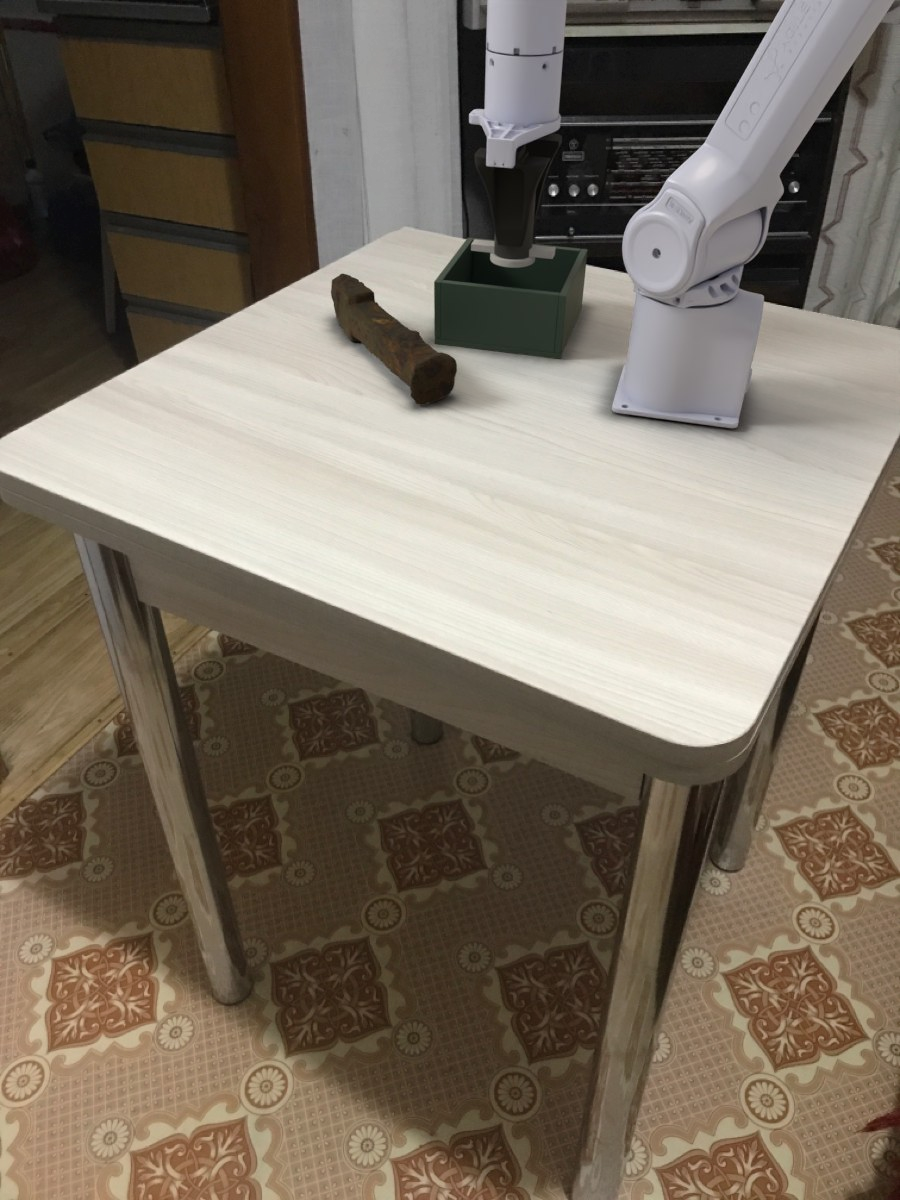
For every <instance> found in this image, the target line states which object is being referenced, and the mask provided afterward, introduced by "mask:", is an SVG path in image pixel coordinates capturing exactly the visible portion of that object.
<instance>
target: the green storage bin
mask: <svg viewBox="0 0 900 1200" xmlns="http://www.w3.org/2000/svg"><path fill="white" fill-rule="evenodd" d="M475 239H477V240H487V241H494V239H486V238H477V237H467V238H466V239H465V241H464V242H463V243H462V244H461V246H460V247H459V249H458V250H457V251H456V252H455V253H454V255H453V257H452V258H450V260H449V262H448V263H447V264H446V266H445V267H444V268H443V269H442V271H440V273H439V274H438V276H437V277H436V279H435V280H434V281H433V300H434V301H433V303H434V305H433V307H434V309H433V312H434V313H433V314H434V315H433V316H434V319H433V320H434V321H433V322H434V344H438V345H446V346H453V347H460V348H468V349H469V348H470V349H477V350H486V351H494V352H501V353H509V354H510V353H511V354H516V355H517V354H519V355H525V356H532V357H533V356H534V357H541V358H542V357H543V358H549V359H550V358H551V359H558V360H561V359H562V357H563V355H564V352H565V349H566V347H567V345H568V342H569V339H570V337H571V335H572V332H573V331H574V328H575V325H576V323H577V320H578V318H579V316H580V313H581V311H582V307H583V301H584V300H583V299H584V290H585V282H586V281H585V280H586V270H587V261H588V260H587V259H588V252H589V251H588V249H587V248H580V247H579V248H578V247H567V246H558V245H548V244H538V243H532V245H537V246H547V247H555V255H554V257H553V259H546V258H537V257H535V261H534V263H533V264H531V265H529V266H526V267H520V268H508V267H502V266H498V265H496V264H494V263H492V262H491V260H490V253H488V252H478V251H471V244H472V242H473V241H474V240H475Z"/></svg>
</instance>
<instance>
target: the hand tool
mask: <svg viewBox="0 0 900 1200" xmlns="http://www.w3.org/2000/svg"><path fill="white" fill-rule="evenodd" d="M330 296H331V300H332V303H333V308H334V313H335V319H336V320H337V323H338V324H339V327H340V329H342V330H343V333H344V335H346V337H347V338H348V340H349V341H352V342H360V343H361V344H362V345H363V346H364V347H365V348H366V349H367V351H368V352H370V354H372V355H374V356H375V357H376V358H377V359H378V360H379V361H381V363H382V364H384V366H385V367H386V368H387V369H388V370H389V371H390V372H391V373H392V374H393V375H395V376H397V377H398V378H399V380H401V381H402V382H403V383H405V384H406V385H407V386H408V387H409V388H410V389H409V390H410V397H411V399H412V401H414V402H415V403H416V404H417V405H419V406H423V405H427V404H433V403H435V402H438V401H440V400H441V399H444V398H446V397H447V396H449V395H450V394H451V393H452V391H453V390H454V387H455V380H456V379H455V378H456V375H457V372H458V364H457V360H456V359H455V357H453V356H451V355H450V354H448V353H446V352H440V351H437V350H435V349H434V348H433V347H432V346H431V345H430V344H428V343H427V342H425V340H423V339H424V338H422V337H421V334H420V331H418V330H412V329H410V328H408V327H407V326H405V325H404V324H403V323H401V322H400V321H399V320H398V319H397V318H395V317H394V316H393V315H392V314H390V313H389V312H388V311H386V310H385V308H383V307H382V306H381V305H379V303H378V302H377V301H376V299H375V292H374V291H373V290H372V289H371V288H369V287H367V286H366V285H365V283H364V282H363V281H360V279H358V278H356V277H353V276H351V275H350V274H346V273H340V274H339V275H338V276H336V277H334V278H332V279H331V288H330Z"/></svg>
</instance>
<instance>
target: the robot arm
mask: <svg viewBox="0 0 900 1200" xmlns="http://www.w3.org/2000/svg"><path fill="white" fill-rule="evenodd" d="M895 1H896V0H784V1H783V2H782V5H781V6H780V8H779V10H778V12H777V14H776V15H775V17H774V19H773V21H772V22H771V24H770V26H769V27H768V30H767V31H766V33H765V35H764V37H763V38H762V40H761V42H760V43H759V45H758V47H757V49H756V51H755V52H754V54H753V56H752V58H751V59H750V61H749V63H748V65H747V67H746V68H745V70H744V72H743V73H742V75H741V77H740V78H739V81H738V83H736V86H735V88H734V89H733V91H732V93H731V95H730V97H729V99H728V100H727V102H726V104H725V105H724V107H723V109H722V111H721V113H720V114H719V116H718V118H717V119H716V121H715V123H714V125H713V127H712V128H711V130H710V132H709V134H708V135H707V137H706V139H705V141H704V143H703V144H702V145H701V146H700V147H699V148H698V149H697V150H696V151H695V152H694V153H693V154H692V155H690V156H689V157H688V159H686V160H685V161H683V163H682V164H681V165H680V166H679V167H678V168H677V169H675V171H673V173H672V174H670V176H668V178H667V179H665V182H664V184H663V185H662V187H661V188H660V191H658V193H657V195H656V196H655V198H654V199H653V200H652V201H650V202H649V203H647V204H645V205H644V206H642V207H640V209H638V210H637V211H636V212H635V213H634V214H633V215H632V217H631V218H630V219H629V221H628V223H627V225H626V226H625V230H624V232H623V236H622V242H621V243H622V244H621V245H622V246H621V253H622V260H623V265H624V267H625V271H626V273H627V275H628V277H629V278H630V280H631V281H632V283H633V288H632V291H633V292H634V293H635V298H634V305H633V312H632V319H631V320H632V321H631V326H630V332H629V342H628V349H627V356H626V362H625V364H624V365H623V366H622V370H621V374H620V377H619V380H618V384H617V387H616V391H615V395H614V397H613V401H612V405H611V411H612V412H613V413H616V414H622V415H628V416H629V415H631V416H635V417H636V416H637V417H644V418H652V419H659V420H667V421H674V422H682V423H688V424H694V425H695V424H696V425H703V426H711V427H717V428H718V427H720V428H725V429H736V428H738V426H739V423H740V416H741V411H742V408H743V402H744V399H745V395H746V393H748V392H749V389H750V385H751V382H752V376H753V375H752V374H753V368H752V366H753V365H752V364H753V361H754V356H755V352H756V347H757V343H758V339H759V334H760V330H761V329H760V327H761V324H762V318H763V312H764V305H765V296H764V295H763V294H760V293H757V292H752V291H747V290H745V289H742V288H740V283H741V280H742V276H743V271H744V266H745V265H746V264H748V263H749V262H751V261H752V260H753V259H755V257H756V256H757V255H758V254H759V253H760V252H761V250H762V248H763V246H764V244H765V243H766V239H767V237H768V234H769V227H770V220H771V216H772V214H773V212H774V209H775V207H776V205H777V203H778V202H780V201H779V200H780V199H781V198H782V196H783V195H784V192H785V187H784V185H783V182H782V179H781V177H780V176H781V173H782V172H783V170H784V169H785V167H786V166H787V164H788V163H789V161H790V160H791V158H792V157H793V155H794V153H795V152H796V151H797V149H798V148H799V146H800V145H801V143H802V141H803V140H804V138H805V137H806V135H807V134H808V132H809V131H810V130H811V128H812V126H813V124H814V123H815V122H816V121H817V119H818V117H819V116H820V114H821V113H822V111H823V110H824V108H825V107H826V105H827V104H828V103H829V100H830V99H831V97H832V96H833V95H834V93H835V91H836V90H837V88H838V87H839V86H840V84H841V82H842V81H843V80H844V78H845V76H846V75H847V73H848V72H849V70H850V69H851V67H852V66H853V64H854V63H855V61H856V60H857V58H858V57H859V55H860V54H861V53H862V51H863V49H864V48H865V46H866V44H867V43H868V41H869V40H870V38H871V37H872V35H873V34H874V33H875V31H876V30H877V28H878V27H879V25H880V24H881V22H882V20H883V19H884V17H885V16H886V14H887V13H888V12H889V10H890V8H891V7H892V5H893V4H894V2H895ZM567 7H568V0H486V30H485V31H486V35H485V73H484V74H485V76H484V108H475V109H473V110H472V111H470V113H469V114H468V124H470V125H476V126H480V127H482V129H483V132H484V135H485V136H486V147H480V148H478V150H477V151H476V152H475V153H474V165H475V168H476V170H477V172H478V174H479V176H480V178H481V180H482V183H483V185H484V188H485V192H486V194H487V199H488V202H489V208H490V213H491V219H492V225H493V230H494V237H495V236H496V240H497V244H498V245H504V246H514V247H522V245H523V243H524V240H525V237H526V234H527V230H528V225H529V220H530V214H531V209H532V204H533V200H534V196H535V192H536V196H535V212H534V223H535V222H536V220H537V219H536V218H537V215H538V210H539V207H540V203H541V199H542V193H543V190H544V186H545V182H546V179H547V176H548V173H549V170H550V168H551V165H552V163H553V160H554V158H555V156H556V154H557V152H558V150H559V148H560V146H561V145H562V143H563V136H562V135H561V134H559V133H555V132H558V131H559V130H560V128H561V120H562V116H561V114H560V102H561V101H560V100H561V86H562V72H563V60H564V46H565V35H566V34H565V31H566V20H567Z"/></svg>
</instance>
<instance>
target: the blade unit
mask: <svg viewBox="0 0 900 1200" xmlns="http://www.w3.org/2000/svg"><path fill="white" fill-rule="evenodd" d="M535 196H536V192H535ZM535 196H534V200H533V204H532V209H531V214H530V220H529V225H528V230H527V234H526V237H525V240H524V243H523V245H522V247H514V246H504V245H498V244H497V240H496V236H495V235H494V238H493V240H494V241H487V240H477V239H475V240H474V241H473V242H472V244H471V251H478V252H488V253H490V260H491V262H492V263H494V264H496V265H498V266H502V267H508V268H520V267H526V266H529V265H531V264H533V263H534V261H535V257H537V258H546V259H553V257H554V255H555V247H547V246H537V245H532V244H534V243H533V242H534V229H535V228H534V226H535V222H534V212H535Z"/></svg>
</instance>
